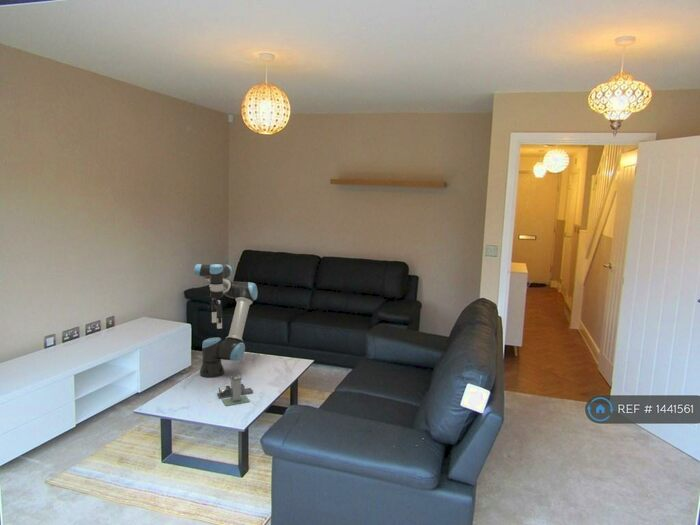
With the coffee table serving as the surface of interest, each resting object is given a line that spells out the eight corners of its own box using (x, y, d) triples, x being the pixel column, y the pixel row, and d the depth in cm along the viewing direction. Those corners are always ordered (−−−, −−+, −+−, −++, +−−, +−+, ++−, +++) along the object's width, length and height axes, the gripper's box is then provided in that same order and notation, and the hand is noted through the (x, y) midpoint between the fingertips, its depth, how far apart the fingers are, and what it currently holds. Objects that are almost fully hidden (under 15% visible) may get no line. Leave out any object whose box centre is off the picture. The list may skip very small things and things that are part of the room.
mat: (221, 400, 281) (221, 399, 281) (245, 395, 288) (245, 395, 288) (225, 406, 274) (225, 405, 274) (250, 402, 280) (250, 401, 280)
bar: (230, 399, 282) (230, 376, 280) (239, 397, 284) (239, 374, 282) (232, 402, 277) (232, 379, 275) (241, 401, 280) (241, 377, 278)
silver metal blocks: (217, 395, 287) (217, 386, 286) (250, 390, 296) (250, 381, 296) (219, 399, 283) (219, 389, 282) (253, 393, 292) (253, 384, 291)
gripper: (205, 287, 300) (206, 320, 303) (214, 295, 278) (215, 331, 281) (218, 286, 303) (218, 319, 306) (228, 294, 281) (228, 330, 285)
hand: (216, 325), depth 294 cm, fingers open, 13 cm apart
